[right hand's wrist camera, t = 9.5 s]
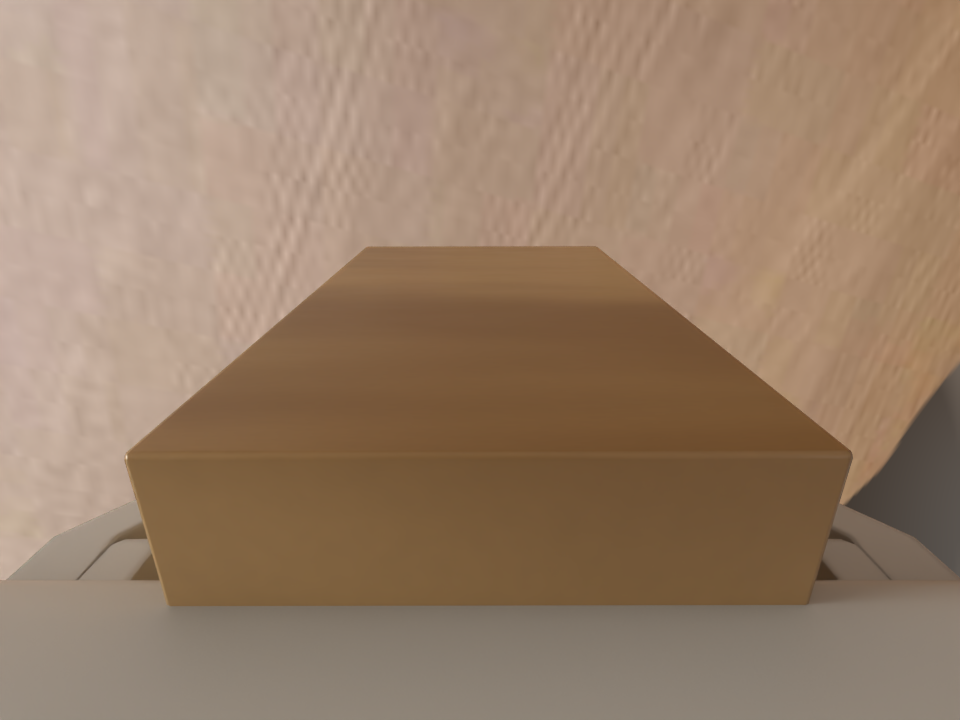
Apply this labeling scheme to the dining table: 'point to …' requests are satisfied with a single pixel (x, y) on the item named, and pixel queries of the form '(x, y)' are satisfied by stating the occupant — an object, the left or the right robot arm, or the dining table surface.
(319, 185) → the dining table surface
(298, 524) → the bar
